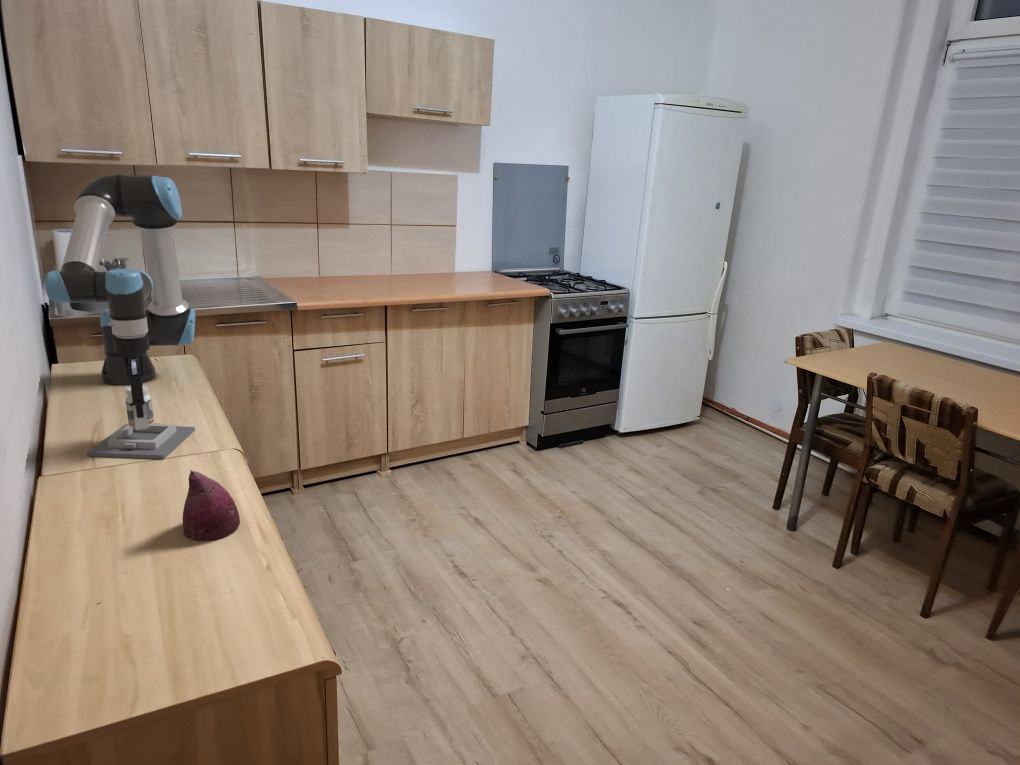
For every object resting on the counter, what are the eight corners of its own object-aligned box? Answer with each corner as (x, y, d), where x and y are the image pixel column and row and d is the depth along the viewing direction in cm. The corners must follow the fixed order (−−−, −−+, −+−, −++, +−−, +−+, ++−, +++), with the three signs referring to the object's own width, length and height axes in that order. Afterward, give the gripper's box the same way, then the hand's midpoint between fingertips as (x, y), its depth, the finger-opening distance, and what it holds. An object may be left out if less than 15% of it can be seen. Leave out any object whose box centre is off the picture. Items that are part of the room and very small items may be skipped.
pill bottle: (155, 420, 170) (151, 383, 167) (152, 428, 165) (148, 390, 162) (130, 421, 168) (125, 384, 165) (126, 430, 163) (121, 392, 160)
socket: (125, 427, 176) (124, 417, 175) (195, 430, 177) (194, 420, 176) (87, 456, 159) (85, 445, 158) (163, 459, 160) (162, 448, 159)
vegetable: (192, 559, 127) (164, 501, 119) (184, 527, 135) (157, 471, 127) (247, 535, 132) (223, 478, 124) (236, 506, 139) (213, 450, 131)
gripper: (113, 326, 165) (124, 413, 172) (111, 345, 149) (124, 440, 157) (147, 324, 168) (157, 409, 176) (149, 343, 153) (160, 435, 160)
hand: (141, 423), depth 166 cm, fingers closed on pill bottle, 6 cm apart
